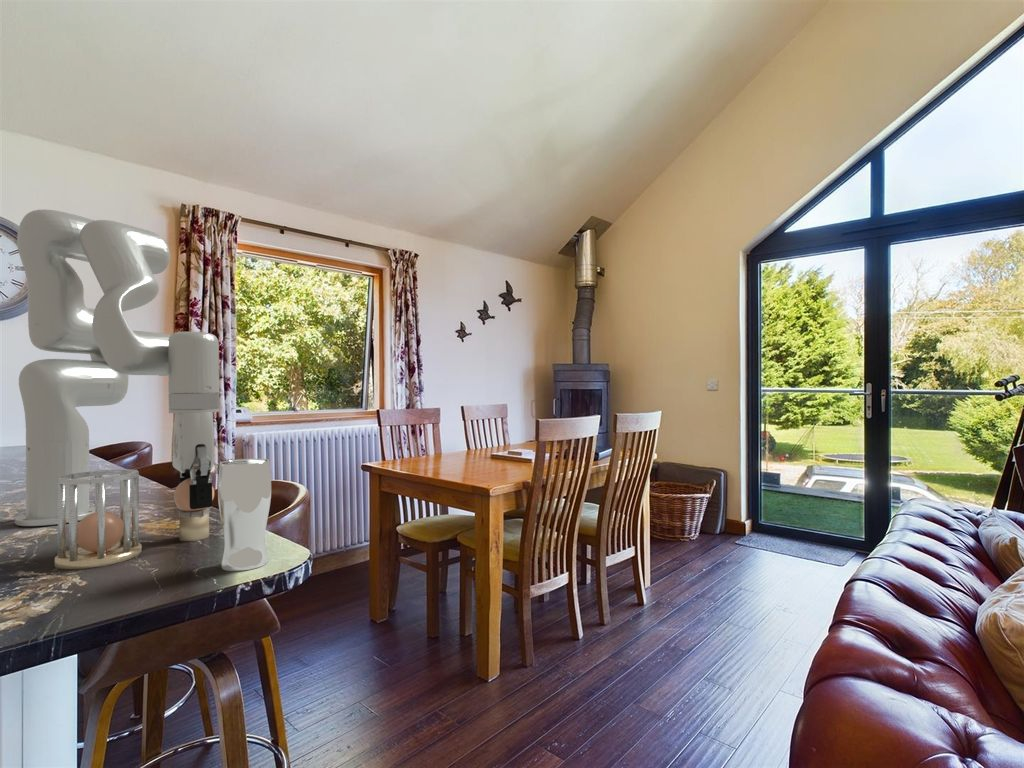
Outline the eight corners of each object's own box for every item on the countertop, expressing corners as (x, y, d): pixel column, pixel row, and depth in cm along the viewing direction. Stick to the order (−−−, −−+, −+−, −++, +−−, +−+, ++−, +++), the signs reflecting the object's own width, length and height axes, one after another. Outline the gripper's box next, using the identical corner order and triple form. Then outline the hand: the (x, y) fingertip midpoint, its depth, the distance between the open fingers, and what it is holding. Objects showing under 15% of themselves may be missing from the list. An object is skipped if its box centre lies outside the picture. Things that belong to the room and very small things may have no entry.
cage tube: (55, 556, 81) (55, 473, 81) (137, 543, 88) (137, 466, 88) (54, 574, 73) (54, 482, 73) (145, 558, 80) (145, 474, 80)
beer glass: (213, 563, 78) (213, 461, 78) (264, 553, 82) (263, 457, 82) (224, 576, 72) (223, 466, 72) (277, 565, 77) (277, 461, 77)
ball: (73, 550, 81) (73, 511, 81) (122, 542, 85) (122, 505, 85) (74, 560, 76) (74, 518, 76) (125, 551, 80) (125, 512, 80)
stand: (177, 537, 91) (177, 509, 92) (206, 532, 94) (206, 505, 94) (181, 542, 88) (181, 513, 88) (211, 537, 91) (211, 509, 91)
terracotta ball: (171, 511, 92) (171, 477, 92) (210, 506, 95) (210, 473, 96) (176, 518, 87) (176, 481, 87) (217, 512, 91) (217, 477, 91)
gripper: (161, 404, 96) (162, 499, 95) (177, 405, 82) (178, 515, 82) (208, 402, 100) (209, 493, 100) (230, 403, 87) (231, 508, 87)
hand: (195, 503), depth 91 cm, fingers open, 9 cm apart
